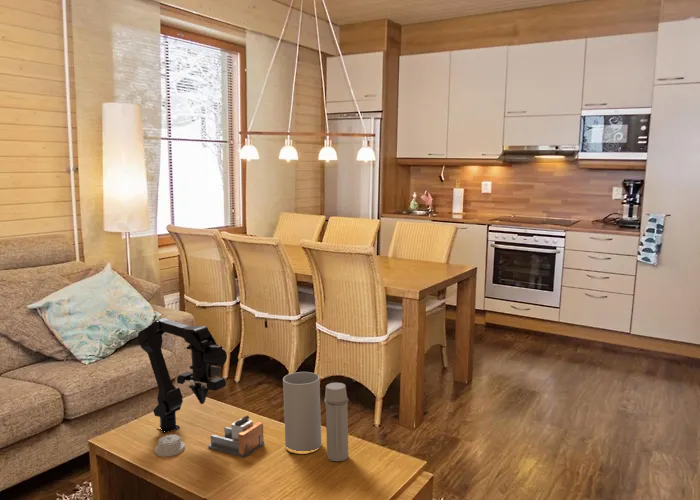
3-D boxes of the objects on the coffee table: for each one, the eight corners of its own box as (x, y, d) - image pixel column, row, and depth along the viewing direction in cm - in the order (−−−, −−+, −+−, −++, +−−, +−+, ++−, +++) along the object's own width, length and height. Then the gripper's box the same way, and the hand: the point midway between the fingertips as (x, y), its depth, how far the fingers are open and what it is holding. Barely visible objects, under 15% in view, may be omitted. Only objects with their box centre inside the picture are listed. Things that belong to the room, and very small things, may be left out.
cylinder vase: (328, 443, 198) (326, 375, 195) (307, 458, 187) (305, 386, 184) (299, 436, 204) (297, 369, 201) (278, 450, 194) (275, 380, 191)
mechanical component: (149, 456, 192) (175, 458, 190) (148, 443, 192) (174, 446, 189) (164, 442, 202) (190, 445, 200) (164, 431, 201) (189, 433, 199)
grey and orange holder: (208, 448, 196) (207, 426, 196) (229, 435, 206) (228, 414, 205) (244, 457, 189) (243, 435, 188) (264, 444, 198) (263, 422, 198)
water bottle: (326, 452, 191) (324, 382, 188) (349, 452, 191) (347, 381, 188) (325, 466, 182) (323, 392, 179) (349, 465, 182) (348, 391, 179)
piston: (231, 446, 194) (230, 420, 193) (242, 439, 200) (241, 414, 199) (243, 449, 192) (242, 423, 191) (254, 442, 197) (253, 416, 196)
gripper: (235, 358, 204) (237, 400, 206) (196, 352, 213) (199, 392, 215) (214, 368, 194) (216, 411, 196) (174, 360, 203) (177, 402, 205)
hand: (202, 403), depth 203 cm, fingers closed
